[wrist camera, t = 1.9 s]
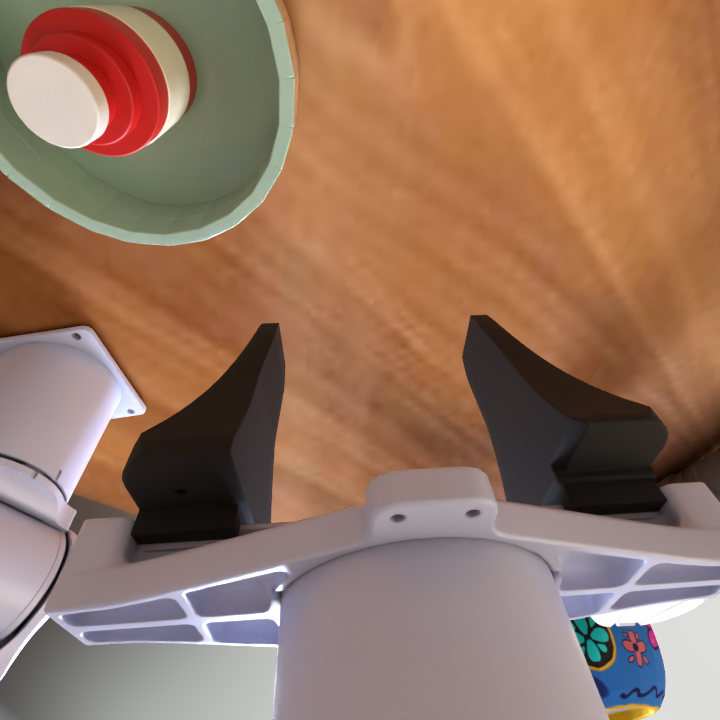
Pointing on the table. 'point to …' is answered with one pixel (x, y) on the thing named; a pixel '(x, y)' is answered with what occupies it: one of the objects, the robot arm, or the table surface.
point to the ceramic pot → (623, 667)
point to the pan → (172, 129)
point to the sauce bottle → (101, 78)
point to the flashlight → (699, 474)
